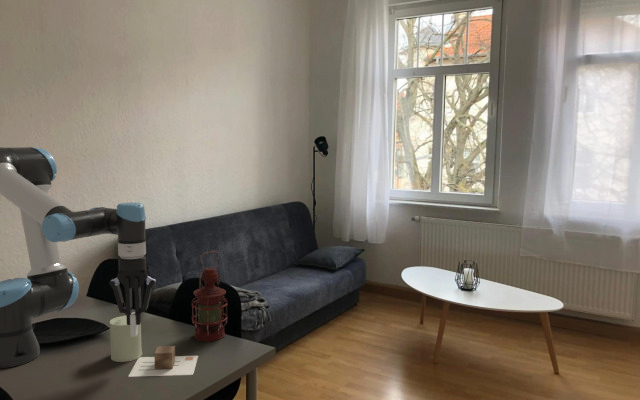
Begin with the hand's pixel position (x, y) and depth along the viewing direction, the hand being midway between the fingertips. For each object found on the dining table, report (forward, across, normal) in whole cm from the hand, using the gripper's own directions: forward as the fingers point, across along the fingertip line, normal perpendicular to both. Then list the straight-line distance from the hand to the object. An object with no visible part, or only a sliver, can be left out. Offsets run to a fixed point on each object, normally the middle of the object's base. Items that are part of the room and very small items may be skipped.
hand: (134, 335), depth 147 cm
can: (+10, -4, +8) cm, 14 cm away
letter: (+10, +8, 0) cm, 13 cm away
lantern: (+10, +20, +23) cm, 32 cm away
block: (+10, +8, 0) cm, 13 cm away
